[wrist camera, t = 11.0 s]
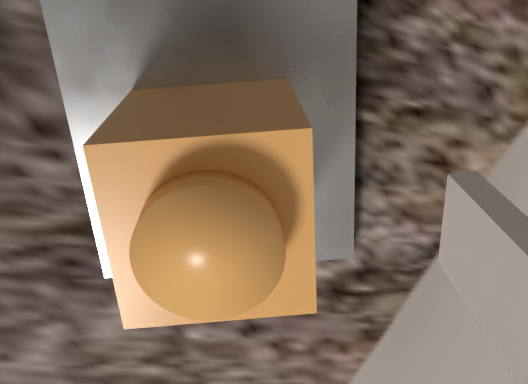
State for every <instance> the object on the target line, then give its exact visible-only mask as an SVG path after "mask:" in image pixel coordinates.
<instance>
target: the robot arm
mask: <svg viewBox="0 0 528 384" xmlns="http://www.w3.org/2000/svg"><path fill="white" fill-rule="evenodd" d="M438 263H439V264H440V266H441V268H442V269H443V271H444V272H445V273H446V275H447V277H448V278H449V279H450V281H451V283H452V284H453V286H454V287H455V289H456V290H457V292H458V293H459V295H460V296H461V298H462V299H463V301H464V302H465V304H466V305H467V307H468V308H469V310H470V311H471V313H472V314H473V316H474V317H475V319H476V320H477V322H478V323H479V325H480V326H481V328H482V329H483V331H484V332H485V334H486V335H487V337H488V338H489V340H490V341H491V343H492V344H493V346H494V348H495V349H496V351H497V352H498V354H499V355H500V357H501V358H502V360H503V361H504V363H505V364H506V366H507V367H508V369H509V370H510V372H511V373H512V375H513V376H514V378H515V379H516V381H517V382H518V384H528V217H527V216H526V215H525V214H524V213H523V212H521V211H520V210H519V209H518V208H517V207H516V206H515V205H513V204H512V203H511V202H510V201H509V200H508V199H507V198H506V197H505V196H503V195H502V194H501V193H500V192H499V191H498V190H497V189H496V188H495V187H494V186H492V185H491V184H490V183H489V182H488V181H487V180H486V179H485V178H483V177H482V176H481V175H480V174H479V173H478V172H465V173H453V174H448V177H447V186H446V195H445V204H444V213H443V222H442V231H441V241H440V250H439V259H438Z"/></svg>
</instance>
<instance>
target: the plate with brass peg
mask: <svg viewBox="0 0 528 384" xmlns="http://www.w3.org/2000/svg"><path fill="white" fill-rule="evenodd" d="M40 3H41V7H42V12H43V16H44V20H45V24H46V29H47V33H48V37H49V42H50V46H51V50H52V55H53V59H54V63H55V67H56V72H57V76H58V80H59V85H60V89H61V93H62V98H63V102H64V106H65V110H66V115H67V119H68V123H69V128H70V132H71V136H72V141H73V145H74V149H75V153H76V158H77V162H78V166H79V171H80V175H81V179H82V184H83V188H84V192H85V196H86V201H87V205H88V209H89V214H90V218H91V222H92V227H93V231H94V235H95V239H96V244H97V248H98V252H99V257H100V261H101V265H102V269H103V274H104V278H112V274H111V269H110V265H109V261H108V256H107V252H106V247H105V243H104V238H103V234H102V229H101V225H100V221H99V216H98V212H97V207H96V203H95V198H94V194H93V189H92V185H91V180H90V176H89V172H88V167H87V163H86V158H85V154H84V149H83V145H84V143H85V142H86V141H87V140H88V139H89V138H90V137H91V135H92V134H93V133H94V132H95V131H96V130H97V129H98V127H99V126H100V125H101V124H102V123H103V122H104V121H105V119H106V118H107V117H108V116H109V115H110V114H111V113H112V112H113V110H114V109H115V108H116V107H117V106H118V105H119V104H120V102H121V101H122V100H123V99H124V98H125V97H126V96H127V94H128V93H129V92H130V91H131V90H139V89H153V88H166V87H180V86H193V85H207V84H220V83H234V82H248V81H261V80H275V79H289V81H290V83H291V85H292V87H293V89H294V91H295V93H296V96H297V98H298V100H299V102H300V104H301V106H302V108H303V110H304V112H305V114H306V116H307V118H308V120H309V122H310V124H311V126H312V136H313V178H314V220H315V261H321V260H333V259H345V258H354V194H355V119H356V44H357V0H40Z"/></svg>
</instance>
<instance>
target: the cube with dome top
mask: <svg viewBox="0 0 528 384" xmlns="http://www.w3.org/2000/svg"><path fill="white" fill-rule="evenodd" d="M83 149H84V154H85V158H86V163H87V167H88V172H89V176H90V180H91V185H92V189H93V194H94V198H95V203H96V207H97V212H98V216H99V221H100V225H101V229H102V234H103V238H104V243H105V247H106V252H107V256H108V261H109V265H110V269H111V274H112V278H113V283H114V287H115V292H116V296H117V301H118V305H119V309H120V314H121V318H122V323H123V327H124V329H134V328H146V327H158V326H170V325H181V324H193V323H205V322H217V321H229V320H241V319H253V318H264V317H276V316H288V315H300V314H312V313H317V305H316V262H315V220H314V178H313V136H312V126H311V124H310V122H309V120H308V118H307V116H306V114H305V112H304V110H303V108H302V106H301V104H300V102H299V100H298V98H297V96H296V93H295V91H294V89H293V87H292V85H291V83H290V81H289V79H275V80H261V81H248V82H234V83H220V84H207V85H193V86H180V87H166V88H153V89H139V90H131V91H130V92H129V93H128V94H127V96H126V97H125V98H124V99H123V100H122V101H121V102H120V104H119V105H118V106H117V107H116V108H115V109H114V110H113V112H112V113H111V114H110V115H109V116H108V117H107V118H106V119H105V121H104V122H103V123H102V124H101V125H100V126H99V127H98V129H97V130H96V131H95V132H94V133H93V134H92V135H91V137H90V138H89V139H88V140H87V141H86V142H85V143H84V145H83Z"/></svg>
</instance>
